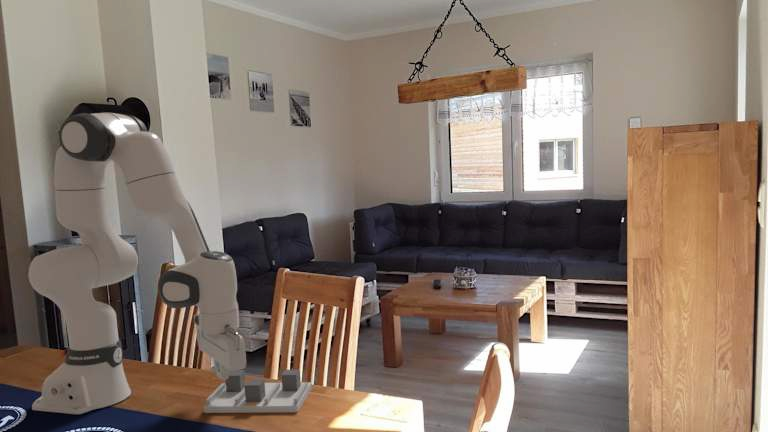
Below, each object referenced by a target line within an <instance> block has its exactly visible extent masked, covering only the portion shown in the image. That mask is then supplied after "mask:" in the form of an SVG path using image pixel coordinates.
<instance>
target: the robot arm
mask: <svg viewBox="0 0 768 432" xmlns="http://www.w3.org/2000/svg"><path fill="white" fill-rule="evenodd" d="M58 132H59V133H58V140H59V143H60V147H59V148H58V149H57V150H56V154H55V160H54V169H53V179H54V180H53V184H54V185H53V186H54V199H55V213H56V219H57V221H58V223H59V224H60V225H61V226H62V227H64V228H66V229H68V230H71V231H72V232H76V233H77V234H78V235H79V238H80V242H81V245H74V246H68V247H63V248H62V247H61V248H55V249H53V250H50V251H46V252H44V253H42V254H39V255H37V256H35V257H33V260H32V261H31V262H30V265H29V268H28V274H27V275H28V282H29V284H30V285H31V287H32V288H33V289H34V291H36V292H37V293H38V294H39V295H41V296H43V297H45V298H48V299H49V300H51V301H52V302H53V303H54V304H55V305H56V306H57V307H58V308H59V310H60V312H61V313H62V316H63V317H64V321H65V324H66V330H67V336H68V344H69V346H68V347H66V348H65V349H64V350H63V351H61V352H59V354H60V356H59V357H60V358H62V357H64V361H63V363H61V365H59V366H58V367H57V368H56V369H55V370H54V371H53V372H52V373H50V375H48V376H47V377H46V379H45V380H44V381H43V383H42V387H41V396H40V397H39V398H37V399H35V401H34V402H33V403H32V405H31V410H32V411H39V412H49V413H60V414H68V415H82V414H84V413H88V412H91V411H94V410H97V409H103V408H106V407H109V406H113V405H116V404H118V403H120V402H121V401H122V402H123V401H125V400H126V399H127V398H128V397H130V395H131V394H132V390H131V388H130V386H129V383H128V381H127V377H126V374H125V371H124V370H125V369H124V365H123V349H122V348H123V347H122V340H121V338H119V329H118V321H117V312H116V311H115V310H114V308H113V307H112V306H111V305H109V304H107V303H104V302H102V301H98V300H96V299H95V298H94V295H93V291H92V290H93V289H95V288H96V289H97V288H100V287H105V286H110V285H114V284H117V283H120V282H121V281H122V282H123V281H124V280H126V279H128V278H131V277H133V276H134V275H135V273H136V272H137V269H138V265H139V257H138V253H137V251H136V249H135V247H134V246H133V245H132V244H130V243H129V242H128V241H126V240H124V239H123V238H122V237H121V236H120V235H119V234H118V233H117V232H116V230H115V229H114V226H113V224H112V223H111V219H110V215H109V208H108V201H107V200H108V199H107V189H106V187H107V186H106V176H105V174H106V173H105V172H106V171H105V170H106V167H107V165H108V164H110V162H114V163H116V164H117V165H118V167H119V168H120V170H121V172H122V176H123V179H124V183H125V187H126V189H127V193H128V196H129V199H130V201H131V202H132V204H133V206H134V207H135V209H136V211H137V212H139V213H141V214H142V215H144V216H145V217H149V218H151V219H155V220H157V221H159V222H161V223H164V224H166V225H167V226H168V227H169V228H170V229H171V230H172V232H173V233H174V236H175V238H176V242H177V244H178V246H179V248H180V250H181V253H182V256H183V258H184V263H183V264H180V265H177V266H174V267H172V268H169V269H168V270H166V271H164V272H163V273H162V274H161V275H160V277H159V279H158V281H157V293H158V296H159V297H160V300H161V302H163V303H164V304H165V305H166V306H167V307H169V308H172V309H184V308H188V307H193V306H196V307H197V308H198V311H199V313H195V314H194V315H193V323H194V324H195V330H196V331H195V332H196V339H197V345H198V348H199V350H200V351H201V352H203V353H204V354H206V355H207V356H208V357H210V358H211V359H213V364H214V368H215V371H216V377H217V378H219V379H220V380H222V381H226V379H228V378H229V372H230V371H237V370H244V369H245V368H246V366H247V353H246V347H245V341H244V338H243V336H242V335H241V334H239V332H238V330H237V329H238V328H240V314H239V303H238V301H237V300H238V299H237V293H238V278H237V271H236V265H235V262H234V259H233V258H232V256H231V255H229V254H227V253H226V252H222V251H217V250H213V251H211V250H210V248H209V246H208V243H207V241H206V239H205V236H204V233H203V232H202V231H203V230H202V228H201V227H200V224H199V222H198V219H197V216H196V214H195V212H194V210H193V208H192V206H191V204H190V203H189V201H188V200H187V199H186V197H185V195H184V193H183V190H182V189H181V186H180V185H179V181H178V178H177V176H176V173H175V168H174V166H173V164H172V161H171V159H170V156H169V154H168V151H167V149H166V147H165V145H164V144H163V141H162V139H161V138H160V137H159V136H158V135H157V134H155V133H154V132H150V131H148V129H147V126H146V125H145V123H144V122H143V121H142V120H140V119H139V118H137V117H136V116H134V115H130V114H127V113H115V112H106V111H105V112H95V113H87V112H86V113H85V112H84V113H83V112H82V113H78V114H75V115H71V116H69V117H68V118H67V117H66V119H65V120H64V121H63V122H62V124H61V125H60V128H59V131H58Z"/></svg>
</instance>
